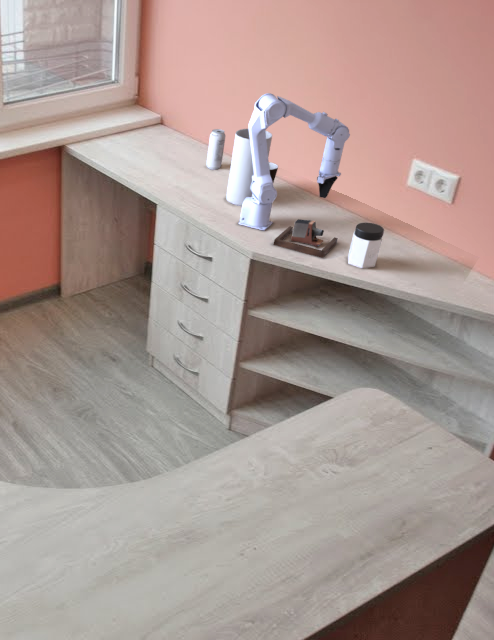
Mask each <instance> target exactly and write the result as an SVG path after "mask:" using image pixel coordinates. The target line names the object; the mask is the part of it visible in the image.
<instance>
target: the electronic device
mask: <svg viewBox="0 0 494 640" xmlns="http://www.w3.org/2000/svg"><path fill="white" fill-rule="evenodd" d="M324 232H325V231H324V229H320V228H317V222H316V220H311V219H299V218H298V219H296V220H295V221H294V225H293V230H292V233H291V237H290V241H291V242H293V243H299V244H305V245H310V246H312V247H314V248H315V249H318V248H319V246H320V245H322V243H324V239H321V238H318V237H323V236H324Z"/></svg>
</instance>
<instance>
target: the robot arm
mask: <svg viewBox="0 0 494 640" xmlns="http://www.w3.org/2000/svg"><path fill="white" fill-rule="evenodd" d="M289 116H291V117H293V118H296V119H298V120H301V121H302V122H305V123H307V126H308V128H309V129H310V130H312V131H313V132H316V133H318V134H320V135H322V136H324V137H326V140H325V145H324V149H323V154H322V159H321V162H320V167H319V170H318V175H317V177H316V183H317V184H318V189H319V190H318V194H319V198H323V199H326V198H328V195H329V193H330V191H331V189H332V187H333V185H334V184H335V182H336V181H337V180H338V177H341V176H342V172H340V171H339V169H340V164H341V159H342V156H343V152H344V151H343V150H344V147H345V143H346V142H347V141H348V140H349V138H350V136H351V134H350V129H349V127H348V126H347V125H346V124H344V123H343V122H341V121H340V119H338V118H332V117H330V116H329V115H328V113H327V112H325V111H322V112H321V111H317V112H314V113H313V112H311V111H309V110H307V109H305V108H304V107H302V106H300V105H298V104H296V103H295V102H293V101H291V100H290V99H286V98H284V97H282V96H278V95H277V96H276V95H275V94H274V93H270V92H268V93H264V94H262V95H261V96H260V97H259V98H258V99H257V101H255V103H254V108H253V111H252V113H251V116H250V119H249V122H248V125H247V129H249V137H250V145H251V154H252V162H253V171H254V175H253V176H252V183H251V186H250V189H251V191H252V193H253V194H252V197H247V198H246V199H245V200H244V202H243V205H242V206H241V209H240V217H239V221H238V225H239V226H240V225H241V226H245V227H248V228H252V229H256V230H259V231H263V232H264V231H265V230H267V229H268V228H269V227H270V226H272V225H273V223H274V222H273V221H271V220H270V218H271V213H272V207H273V202H274V201H276V200H277V199H276V198H277V197H278V191H277V189H276V187H275V186H274V183H273V181H272V179H271V176H270V170H269V162H270V161H269V157H268V151H267V141H266V132H265V131H267V129H268V128H269V127H271V126H273V124H275V123H276V122H278V121H279V120H280V119H282V118H283V119H286V118H288V117H289Z"/></svg>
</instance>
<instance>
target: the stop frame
mask: <svg viewBox="0 0 494 640" xmlns="http://www.w3.org/2000/svg"><path fill="white" fill-rule="evenodd" d="M293 229H294V226H292V225H289V226H288V227H287V228H286V229H284V230H283V231H282V232H281V233H280V234H279V235H278V236H276V237H275V238H274V240H273V246H276V247H280V248H283V249H288V250H291V251H294V252H299V253H302V254H306V255H310V256H314V257H317V258H321V259H324V257H325V256H326V255H327V254H329V252H330V251H331V250H332V249H333V248H334V247H335V246H336V245H337V244H338V237H333V238H332V239H331V240H330V241H329V242H328V243H326V245H325V246H324V247H323V248H322V249H318V248H315V247H311V246H307V245H303V244H300V243H299V244H298V243H296V242H293V241H291V242H290V241H288V240H285V239H286V238H287V237H288V236H290V235H292V233H293Z"/></svg>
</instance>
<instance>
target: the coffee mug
mask: <svg viewBox="0 0 494 640" xmlns="http://www.w3.org/2000/svg"><path fill="white" fill-rule="evenodd" d="M269 170H270V176H271V179H272V181H273V184H274V182H275V179H276V177H277V176H276V175H277V173H278V170H279V165H278V164H277V163H275V162H271V161H269Z"/></svg>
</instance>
